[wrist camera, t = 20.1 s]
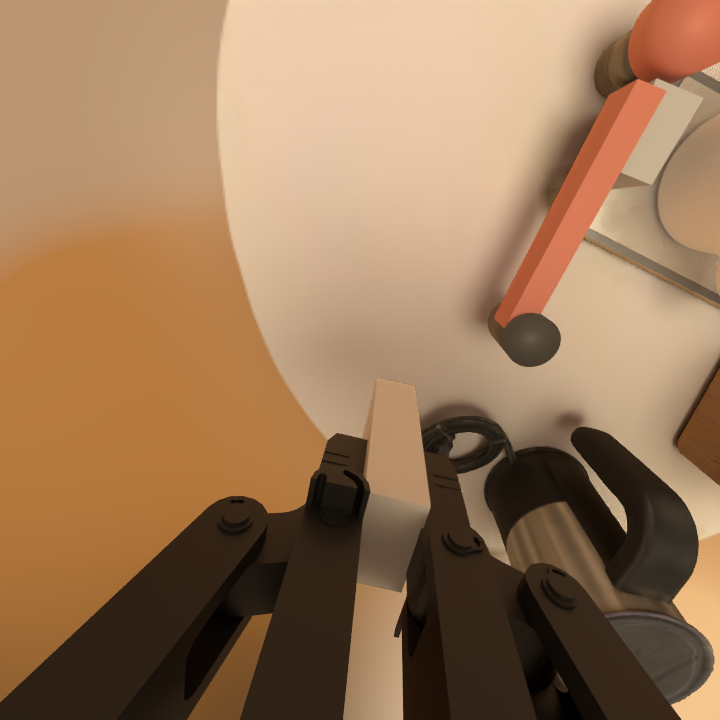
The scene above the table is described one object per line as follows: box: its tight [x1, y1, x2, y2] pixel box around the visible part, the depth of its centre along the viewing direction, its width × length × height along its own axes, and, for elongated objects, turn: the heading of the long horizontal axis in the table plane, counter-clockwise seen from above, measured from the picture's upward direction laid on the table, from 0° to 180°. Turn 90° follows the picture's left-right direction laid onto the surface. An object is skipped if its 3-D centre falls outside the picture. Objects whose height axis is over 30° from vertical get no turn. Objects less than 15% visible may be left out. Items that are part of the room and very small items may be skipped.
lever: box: [488, 0, 720, 367], centre depth 21 cm, size 20×4×6 cm, turn 161°
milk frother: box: [421, 416, 714, 705], centre depth 27 cm, size 14×16×15 cm
